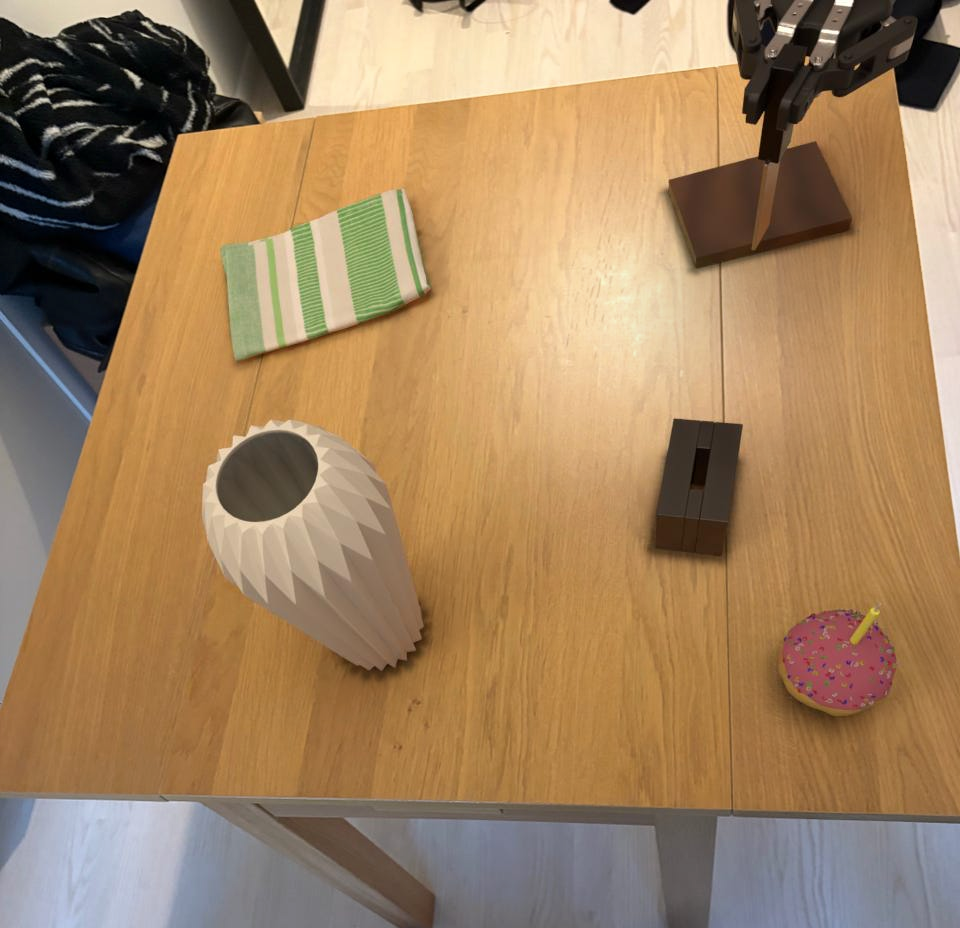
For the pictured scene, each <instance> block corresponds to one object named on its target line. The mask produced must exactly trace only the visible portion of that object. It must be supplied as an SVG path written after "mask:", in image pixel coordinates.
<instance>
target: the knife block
mask: <svg viewBox="0 0 960 928" xmlns="http://www.w3.org/2000/svg"><path fill="white" fill-rule="evenodd" d="M743 428H744V424H743V423H734V422H722V421H710V420H698V419H689V418H688V419H686V418H673V420H672V425H671V431H670V436H669V441H668V447H667V453H666V458H665V463H664V469H663V475H662V479H661V486H660V492H659V496H658V501H657V506H656V507H657V508H656V514H655V532H654V533H655V536H654V548H655V549H661V550H669V551H677V552H685V553H697V554H702V555H711V556H723V554H724V547H725V544H726V543H725V542H726V536H727V534H728V527H729V522H730V516H731V510H732V509H731V508H732V503H733V495H734V490H735V489H734V488H735V481H736V475H737V469H738V468H737V467H738V462H739V461H738V460H739V453H740V447H741V441H742V434H743ZM693 486H702V487H703V489H695V488H693Z"/></svg>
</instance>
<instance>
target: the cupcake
mask: <svg viewBox="0 0 960 928" xmlns="http://www.w3.org/2000/svg"><path fill="white" fill-rule="evenodd" d="M882 604H883V603H882V602H878V604H877V605H876V607H874V606H873V607H871V608H870V609H869V610H868V612H867V614H866V615H865V614H864V613H861V611H860V610H855V612H854V610H853V609H849V610H846V609H845V608H844V607H843V608H840V609H833V610H827V611H826V610H822V611H821V612H818V613H811V614H810V615H808V616H807V617H806V618H804V619H803V620H801V621H800V622H797V623H796V624H795V625H794V626H793V627H791V628H790V629H789V630H788V632H787V634H786V635H785V637H784V638H783V641H782V643H781V646H780V651H779V657H778V667H777V668H778V673H779V675H780V677H781V679H782V681H783V684H784V686H785V689H786V690H787V692H788V693H789V694H790V695H791V697H793V698H795V700H797V701H799V702H801V703H802V704H804V705H806V706H808V707H810V708H812V709H816V710H818V711H821V712H823V713H826V714H828V715H830V716H833V717H847V716H852V715H856V714H858V713H861V712H863V711H865V710H868V709H869V708H871V707H873V706H874V705H876V704H878V703H880V702H881V701H883V700H884V699H885V698H886V697H887V696H888V694H889V693H890V691H891V688H892V684H893V679H894V677H895V673H896V670H897V668H898V666H899V662H898V658H897V655H896V648H895V647H894V645H893V643H892V642H891V640H890V639H889V638H890V637H889V634H887V632H886V630H883V629H882V628H881V627H880V626H879V625H878V622H876V619H877V618H878V616H879V614H880V613H881V611H880V608H881V606H882Z"/></svg>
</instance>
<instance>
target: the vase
mask: <svg viewBox="0 0 960 928" xmlns="http://www.w3.org/2000/svg"><path fill="white" fill-rule="evenodd" d="M246 433H247V434H246V436H242V435H233V436H232V441H231V445H230V446H229V447H223V448H219V449H217V455H216V462H214V463H212V464H210V465H208V466H207V470H206V479H205V482H203V484H202V497H201V498H202V499H201V501H202V502H201V521H202V524H203V527H204V530H205V532H206V538H207V539H206V541H207V543H208V545H209V547H210V550H211V552H212V554H213V555H214V558H215V560H216V562H217V564H218V566H219V568H220V571H221V572H222V574H223V577H224V579H225V580H227V581H229V582H230V583H232V584H233V585H234V586H236V587H238V589H239V590H240V592H241V593H242V595H243V596H245V597H246V598H247V599H250V600H251V601H252V602H254V603H256V604H257V605H259V607H260V606H261V608H263V609H265V610H267V612H270V613H271V614H273V615H274V616H276V617H278V618H280V619H281V620H282V621H284V622H286V623H288V624H289V625H290V626H292V627H294V628H295V629H297V630H299V631H300V632H302V633H303V634H305V635H306V636H308V637H310V638H312V639H313V640H314V641H316V642H317V643H320V644H321V645H323V646H324V647H326V648H327V649H329V650H331V651H332V652H334V653H336V654H337V655H338V656H340V657H342V658H344V659H345V660H347V661H348V662H350V663H352V664H353V665H355V666H357V667H358V666H361V667H362V668H364V669H366V670H367V671H371V670H372V669H373V668H374V667H375V668H377V669H378V670H379V671H381V672H383V671H384V669H385V668H386V666H387V665H389V666H391V667H393V668H395V669H396V666H397V663H398V660H401V661H404V662H405V661H406V662H407V661H408V653H410V652H416V651H417V648H416V647H415V644H414V643H416V642H418V641H421V640H422V639H423V638H422V633H421V632H420V630H422V629H423V628H424V627H425V626H424V621H423V618H422V615H423V614H422V610H421V606H420V602H419V599H418V595H417V592H416V587H415V583H414V580H413V576H412V572H411V569H410V566H409V562H408V558H407V554H406V550H405V547H404V543H403V540H402V536H401V533H400V529H399V525H398V522H397V518H396V513H395V510H394V507H393V504H392V499H391V496H390V493H389V489H388V485H387V483H386V482H385V481H384V480H383V479H382V478H381V477H380V476H379V475H378V474H377V469H376V467H375V464H374V463H373V462H372V461H370V460H369V459H368V458H367V457H366V456H365V455H364V454H363V453H361V452H360V451H359V450H358V449H357V448H356V447H354V446H353V445H352V444H351V443H350V442H349V441H348V440H347V439H345V437H342V436H340V435H337V434H335V433H332V432H329V431H328V430H326V428H324V427H322V426H318V425H314V424H312V423H311V424H310V423H306V422H303V421H299V420H296V419H291V418H290V419H288V420H286V421H282V420H277V419H270V420H269V421H268V422H267V423H266V424H265V425H264V426H261V425H253V424H251V425H250V426H249V429H248V432H246Z"/></svg>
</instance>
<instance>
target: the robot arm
mask: <svg viewBox="0 0 960 928" xmlns="http://www.w3.org/2000/svg"><path fill="white" fill-rule="evenodd" d="M895 3H896V0H734V3H733V4H734V5H733V13H732V14H733V15H732V26H731V36H732V41H733V44H734V45H733V46H734V51H735V56H736V61H737V67H738V71H739V72H738V73H739V76H740V78H741V79H743V80H746V81H748V83H747V84H746V86H745V88H744V89H743V99H742V108H741V114H743V115H745V121H744V122H745V124H749V125H753V126H756V125H757V124H758V122H759V121H760V120H761V118H762V116H763V115H764V111H765V105H766V98H767V91H768V83H769V75H770V68H771V65H772V64H773V62H774V60H775V59H776V57H777V55H778V54H779V52H780V50H781V49H782V47H783V45H784V44H785V43H787V44H793V45H799V46H805V47H807V53H806V58H808V63H807V65H806V64H804V65H802V67H801V69H800V70H799V72H798V74H797V75H796V77H795V79H794V80H793V82H792V83H791V84H790V86H789V88H788V89H787V91H786V93H785V95H784V96H783V98H782V100H781V103H780V106H779V112H778V118H777V124H776V129H777V130H782V131H787V130H788V128H789V126H790V125H791V124H794V125H798V124H799V123H801V122H802V121H803V120H804V118H805V116H806V114H807V112H808V111H809V109H810V107H811V105H812V104H813V102H814V100H815V99H817V98H818V97H820V96H821V94H822V93H823V92H831V94H832V96H833V97H835V98H844V97H846V96H848V95H850V94H851V93H854V92H855V91H857V90H859V89H860V88H862V87H864V86H865V85H867V84H869V83H870V82H872V81H874V80H875V79H877V78H879V77H881V76H883V75H884V74H886V73H887V72H889V71H891V70H893V69H894V68H896V67H898V66H899V65H901V64H903V63H904V62H906V61H907V59H908V57H909V54H910V51H911V47H912V44H913V40H914V37H915V34H916V30H917V26H918V21H919V20H918V18H917V17H916V16H914V15H904V16H902V17H899V19H896V18H895V17H893V16H892V15H891V14H892V13H893V8H894V7H893V6H894V4H895ZM768 20H769V21H770V22H769V23H770V24H771V27H772V29H773V32H774V36H773V37H772V38H771V40H770V41H769V43H768V44H767V45H765V44H762V34H761V30H763V27H764V24H765V22H766V21H768Z"/></svg>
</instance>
